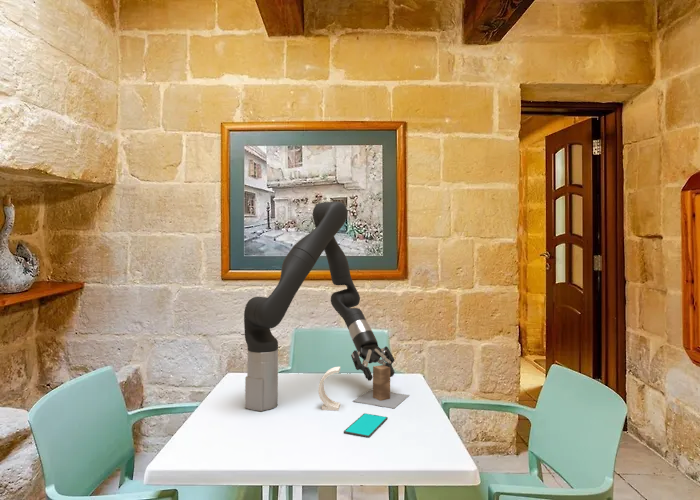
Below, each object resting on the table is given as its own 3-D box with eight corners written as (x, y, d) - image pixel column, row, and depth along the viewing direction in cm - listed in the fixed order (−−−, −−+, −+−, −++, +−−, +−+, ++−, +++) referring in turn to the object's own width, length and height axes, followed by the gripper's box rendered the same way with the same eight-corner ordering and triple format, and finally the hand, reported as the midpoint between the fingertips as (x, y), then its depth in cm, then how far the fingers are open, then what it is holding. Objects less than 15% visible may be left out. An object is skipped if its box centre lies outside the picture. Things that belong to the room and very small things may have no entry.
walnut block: (380, 400, 146) (380, 369, 146) (372, 397, 150) (373, 366, 150) (390, 398, 148) (390, 367, 148) (382, 395, 152) (383, 364, 152)
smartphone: (343, 431, 121) (364, 413, 135) (343, 434, 121) (364, 416, 135) (369, 436, 118) (388, 417, 132) (369, 439, 118) (388, 420, 132)
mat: (394, 408, 140) (394, 408, 140) (352, 401, 146) (352, 401, 146) (409, 395, 152) (409, 395, 152) (370, 389, 158) (370, 389, 158)
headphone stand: (338, 410, 138) (338, 370, 138) (318, 409, 138) (318, 369, 138) (340, 405, 142) (340, 366, 142) (320, 404, 143) (321, 365, 143)
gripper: (349, 331, 153) (368, 374, 143) (383, 327, 160) (404, 368, 150) (340, 344, 157) (358, 386, 147) (375, 340, 165) (394, 380, 155)
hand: (381, 377), depth 149 cm, fingers open, 8 cm apart
